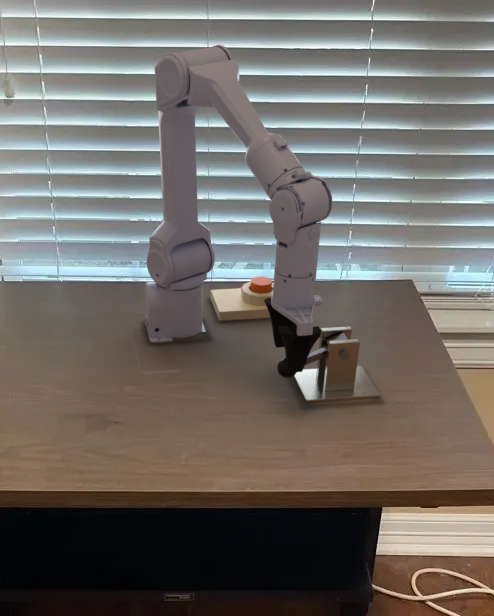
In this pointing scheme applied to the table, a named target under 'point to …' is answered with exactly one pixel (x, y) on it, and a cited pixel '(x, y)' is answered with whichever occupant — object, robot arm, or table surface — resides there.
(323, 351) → the lever
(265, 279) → the button
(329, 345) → the bracket
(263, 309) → the control block
